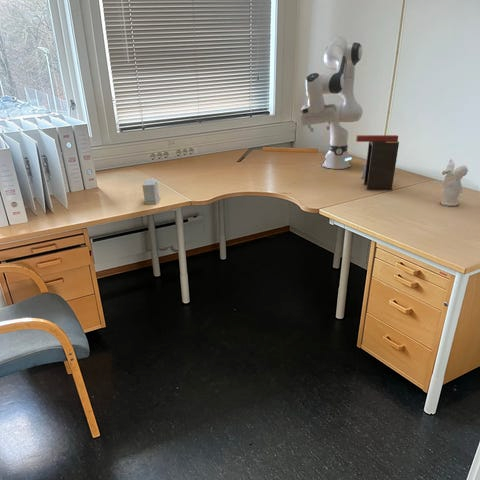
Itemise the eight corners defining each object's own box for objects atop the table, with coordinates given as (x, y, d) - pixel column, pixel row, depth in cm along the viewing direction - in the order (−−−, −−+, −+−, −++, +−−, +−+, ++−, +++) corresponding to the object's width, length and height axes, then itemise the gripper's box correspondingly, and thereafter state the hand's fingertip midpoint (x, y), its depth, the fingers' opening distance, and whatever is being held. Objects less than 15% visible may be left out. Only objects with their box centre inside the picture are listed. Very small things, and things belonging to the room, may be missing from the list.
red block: (356, 140, 265) (356, 135, 263) (396, 140, 263) (397, 135, 262) (356, 141, 262) (357, 136, 261) (397, 141, 261) (398, 136, 260)
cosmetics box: (148, 198, 267) (145, 179, 262) (159, 198, 267) (157, 179, 262) (144, 204, 258) (141, 184, 253) (156, 204, 258) (154, 184, 253)
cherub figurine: (463, 206, 248) (473, 162, 237) (442, 208, 245) (451, 165, 234) (448, 199, 258) (457, 157, 247) (428, 201, 255) (436, 159, 244)
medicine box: (376, 179, 293) (378, 164, 288) (373, 180, 290) (375, 166, 285) (365, 176, 297) (367, 162, 293) (361, 178, 295) (363, 164, 290)
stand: (363, 183, 285) (369, 137, 271) (387, 184, 284) (394, 137, 270) (366, 189, 274) (373, 142, 261) (391, 190, 274) (399, 142, 260)
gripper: (336, 100, 262) (339, 125, 271) (300, 106, 269) (304, 130, 279) (334, 105, 258) (337, 130, 267) (297, 111, 265) (302, 135, 274)
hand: (320, 130), depth 273 cm, fingers open, 8 cm apart
